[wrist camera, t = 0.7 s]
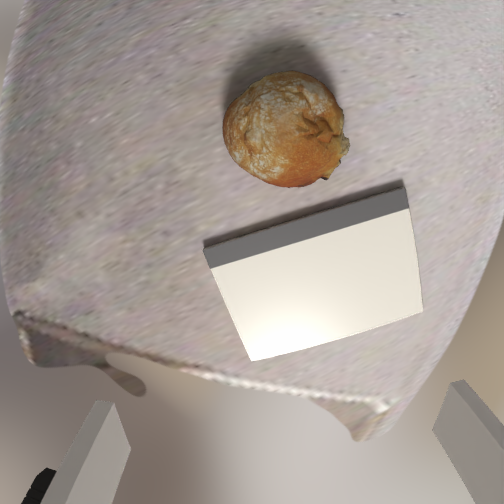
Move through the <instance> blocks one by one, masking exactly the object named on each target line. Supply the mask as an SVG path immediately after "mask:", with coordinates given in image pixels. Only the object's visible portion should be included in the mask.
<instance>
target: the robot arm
mask: <svg viewBox="0 0 504 504" xmlns="http://www.w3.org/2000/svg"><path fill="white" fill-rule="evenodd" d="M432 431H433V432H434V434H435V435H436V437H437V439H438V440H439V442H440V444H441V445H442V447H443V449H444V450H445V452H446V453H447V455H448V457H449V458H450V460H451V462H452V463H453V465H454V467H455V468H456V470H457V472H458V474H459V475H460V477H461V479H462V481H463V482H464V484H465V486H466V487H467V489H468V491H469V493H470V494H471V496H472V498H473V500H474V502H475V503H476V504H504V426H503V424H502V423H501V422H500V421H499V420H498V418H497V417H496V416H495V415H494V414H493V412H492V411H491V410H490V409H489V408H488V406H487V405H486V404H485V403H484V402H483V401H482V399H481V398H480V397H479V396H478V395H477V394H476V392H475V391H474V390H473V389H472V388H471V387H470V386H469V385H468V383H467V382H466V381H465V380H460V381H456V382H452V383H450V385H449V388H448V391H447V394H446V396H445V399H444V402H443V404H442V407H441V410H440V412H439V415H438V417H437V420H436V422H435V424H434V427H433V429H432ZM130 450H131V448H130V445H129V443H128V441H127V438H126V435H125V432H124V430H123V427H122V424H121V422H120V419H119V416H118V413H117V410H116V407H115V404H114V402H107V401H99V400H96V402H95V403H94V405H93V407H92V409H91V411H90V412H89V414H88V416H87V418H86V419H85V421H84V423H83V425H82V426H81V428H80V430H79V432H78V433H77V435H76V437H75V439H74V441H73V442H72V444H71V446H70V448H69V450H68V452H67V453H66V455H65V457H64V459H63V461H62V463H61V465H60V466H59V468H58V470H57V471H55V470H52V469H49V468H46V469H44V470H43V471H42V472H41V473H39V475H37V476H36V478H35V479H34V481H33V483H32V485H31V489H29V490H28V492H27V494H26V497H25V498H24V500H23V502H22V503H21V504H112V501H113V498H114V495H115V492H116V490H117V486H118V484H119V481H120V478H121V475H122V473H123V470H124V467H125V464H126V461H127V459H128V456H129V453H130Z"/></svg>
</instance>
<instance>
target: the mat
mask: <svg viewBox="0 0 504 504" xmlns="http://www.w3.org/2000/svg"><path fill="white" fill-rule="evenodd" d="M203 253H204V255H205V258H206V260H207V262H208V265H209V267H210V269H211V271H212V273H213V276H214V278H215V280H216V283H217V285H218V287H219V290H220V292H221V294H222V297H223V299H224V301H225V304H226V306H227V308H228V310H229V313H230V315H231V317H232V319H233V322H234V324H235V326H236V328H237V331H238V333H239V335H240V337H241V340H242V342H243V344H244V346H245V348H246V351H247V353H248V355H249V357H250V359H251V361H256V360H260V359H265V358H269V357H273V356H277V355H281V354H285V353H289V352H293V351H297V350H301V349H305V348H309V347H312V346H316V345H320V344H323V343H327V342H331V341H334V340H337V339H341V338H344V337H348V336H351V335H354V334H358V333H361V332H364V331H367V330H370V329H373V328H377V327H380V326H383V325H386V324H389V323H392V322H395V321H398V320H400V319H403V318H406V317H409V316H412V315H415V314H417V313H420V312H423V306H422V295H421V285H420V276H419V268H418V260H417V253H416V247H415V240H414V234H413V228H412V222H411V217H410V211H409V205H408V200H407V195H406V190H405V188H404V187H400V188H396V189H393V190H389V191H386V192H383V193H379V194H376V195H373V196H369V197H366V198H363V199H359V200H356V201H353V202H349V203H346V204H343V205H339V206H336V207H333V208H329V209H326V210H323V211H320V212H316V213H313V214H310V215H307V216H303V217H300V218H297V219H294V220H290V221H287V222H284V223H281V224H278V225H274V226H271V227H268V228H265V229H262V230H258V231H255V232H252V233H249V234H246V235H243V236H239V237H236V238H233V239H230V240H227V241H224V242H221V243H218V244H214V245H211V246H208V247H205V248H204V249H203Z"/></svg>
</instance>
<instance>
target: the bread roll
mask: <svg viewBox="0 0 504 504" xmlns="http://www.w3.org/2000/svg"><path fill="white" fill-rule="evenodd" d="M343 123H344V114H343V110H342V109H341V108H340V107H339V106H338V104H337V102H336V99H335V97H334V95H333V94H332V93H331V92H330V91H329V90H328V88H327V87H326V86H325V85H324V84H323V83H322V82H320V81H318V80H317V79H316V78H314V77H312V76H310V75H307V74H304V73H301V72H297V71H286V72H278V73H273V74H270V75H267V76H264V77H263V78H262V79H261V80H259V81H256V82H254V83H252V84H251V85H250V86H249V87H248V89H247V90H246V91H245V92H244V93H243V94H241V96H240V97H238V98H236V99H235V100H234V101H233V102H232V103H231V104H230V106H229V107H228V109H227V111H226V113H225V116H224V119H223V138H224V142H225V145H226V147H227V149H228V151H229V154H230V156H231V157H232V159H233V160H234V161H235V162H236V163H237V164H238V165H239V166H240V167H241V168H243V169H244V170H246V171H247V172H249V173H250V174H251V175H253V176H255V177H257V178H259V179H261V180H263V181H264V182H266V183H269V184H273V185H276V186H279V187H288V188H290V187H304V186H307V185H310V184H312V183H314V182H315V181H316V180H317V179H319V178H322V179H324V180H327V179H328V178H329V177H330V175H331V173H332V172H333V170H334V169H335V168H336V167H338V166H339V164H340V163H341V161H340V159H341V157H343V155H346V154H347V153H348V151H349V147H350V143H349V139H348V138H346V137H344V133H343V128H342V127H343Z"/></svg>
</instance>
